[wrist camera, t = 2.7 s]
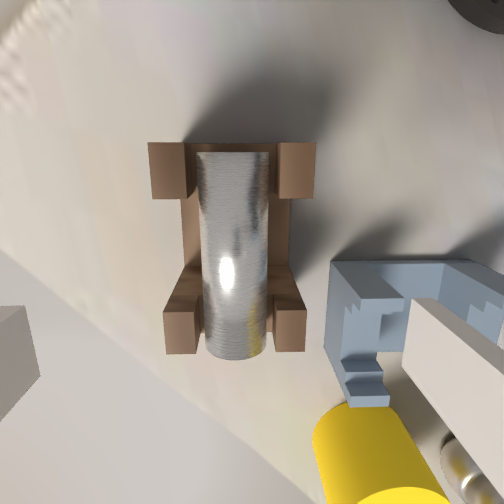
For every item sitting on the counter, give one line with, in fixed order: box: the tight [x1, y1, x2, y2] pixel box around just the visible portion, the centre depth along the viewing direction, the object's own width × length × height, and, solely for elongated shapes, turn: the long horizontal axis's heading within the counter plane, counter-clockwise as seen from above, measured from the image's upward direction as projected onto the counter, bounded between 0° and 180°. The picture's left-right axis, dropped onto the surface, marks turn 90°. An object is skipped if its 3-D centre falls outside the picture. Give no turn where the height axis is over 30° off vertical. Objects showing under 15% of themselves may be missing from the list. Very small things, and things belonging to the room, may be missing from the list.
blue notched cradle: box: [324, 260, 504, 407], centre depth 28 cm, size 9×13×8 cm
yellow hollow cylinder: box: [312, 402, 451, 504], centre depth 32 cm, size 10×10×9 cm
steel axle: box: [196, 152, 269, 360], centre depth 20 cm, size 12×4×4 cm, turn 0°
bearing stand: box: [148, 142, 316, 354], centre depth 24 cm, size 9×13×10 cm
